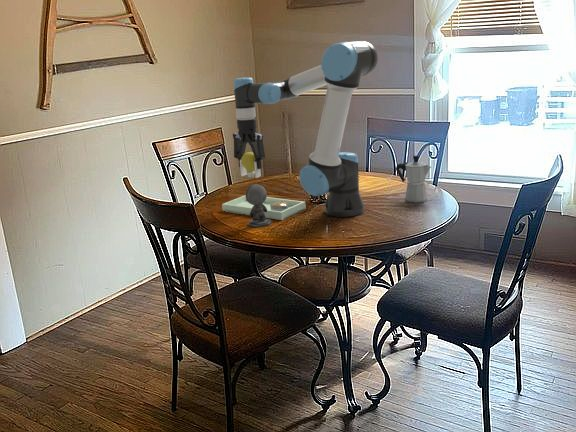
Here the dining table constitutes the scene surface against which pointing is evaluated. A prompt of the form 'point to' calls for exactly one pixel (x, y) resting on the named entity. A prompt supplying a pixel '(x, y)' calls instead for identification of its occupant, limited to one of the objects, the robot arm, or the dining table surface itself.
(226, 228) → the dining table surface
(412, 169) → the coffee maker
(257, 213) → the figurine
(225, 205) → the pale green tray
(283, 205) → the tin
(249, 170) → the light bulb
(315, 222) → the dining table surface
